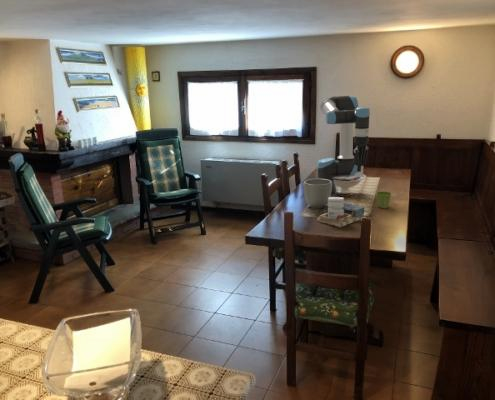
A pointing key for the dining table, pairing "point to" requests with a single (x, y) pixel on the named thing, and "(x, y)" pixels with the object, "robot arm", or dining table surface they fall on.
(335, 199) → the ink box
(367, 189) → the dining table surface
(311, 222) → the dining table surface
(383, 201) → the plant pot
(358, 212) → the block
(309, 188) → the planter
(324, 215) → the cradle
